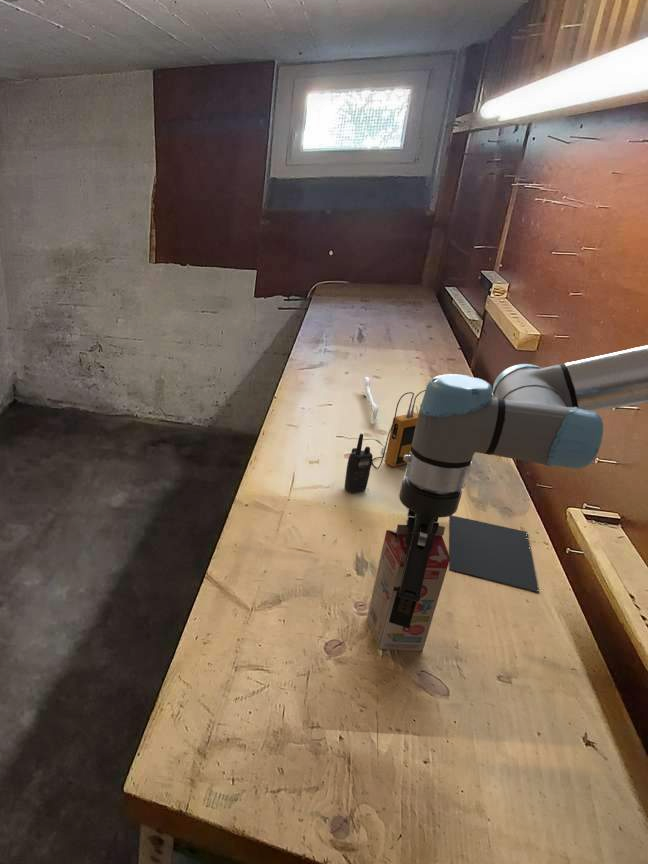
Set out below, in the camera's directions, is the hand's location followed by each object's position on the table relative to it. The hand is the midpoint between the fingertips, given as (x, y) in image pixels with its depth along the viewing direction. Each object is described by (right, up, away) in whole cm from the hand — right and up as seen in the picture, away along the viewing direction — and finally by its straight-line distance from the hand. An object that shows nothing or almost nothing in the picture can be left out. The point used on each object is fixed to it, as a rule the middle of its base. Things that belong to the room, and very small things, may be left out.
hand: (402, 595), depth 89 cm
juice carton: (+1, -8, +4) cm, 9 cm away
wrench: (+36, +40, +87) cm, 102 cm away
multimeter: (+26, +19, +57) cm, 66 cm away
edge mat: (+29, +3, +22) cm, 36 cm away
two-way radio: (+12, +13, +44) cm, 47 cm away
